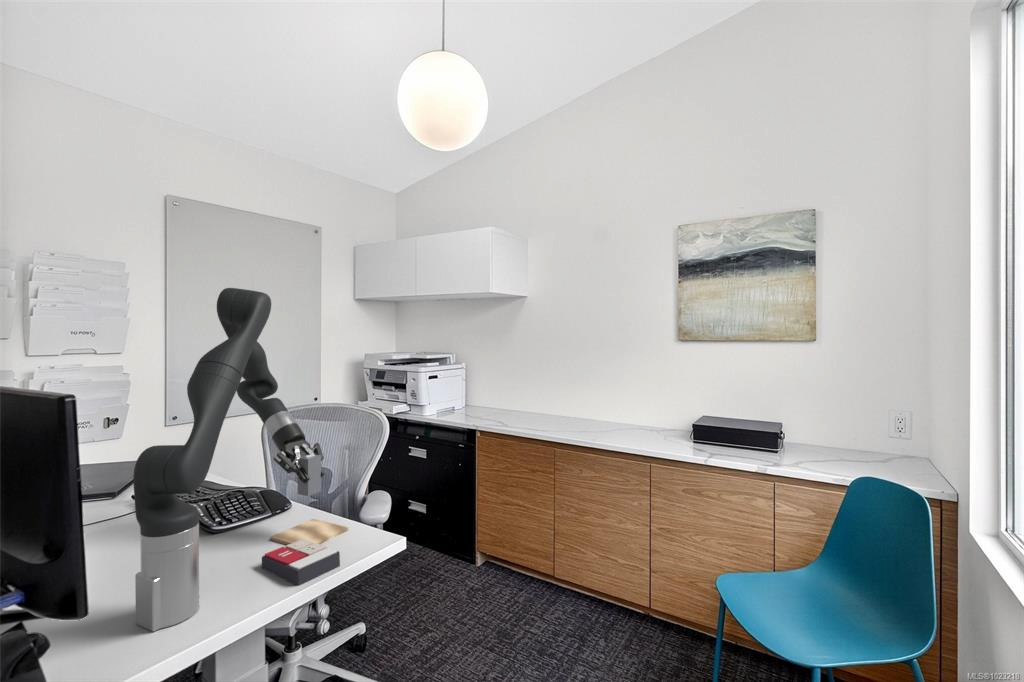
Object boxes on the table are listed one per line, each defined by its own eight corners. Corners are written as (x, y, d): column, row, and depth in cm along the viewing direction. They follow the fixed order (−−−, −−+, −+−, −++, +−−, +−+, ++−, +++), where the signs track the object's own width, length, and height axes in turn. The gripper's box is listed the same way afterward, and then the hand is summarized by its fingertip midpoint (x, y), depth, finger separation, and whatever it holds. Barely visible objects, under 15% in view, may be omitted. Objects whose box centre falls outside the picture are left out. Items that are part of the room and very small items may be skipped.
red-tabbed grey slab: (303, 536, 119) (340, 548, 110) (304, 553, 119) (340, 566, 110) (260, 553, 109) (297, 567, 101) (261, 571, 109) (297, 587, 101)
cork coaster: (306, 550, 118) (306, 547, 118) (270, 540, 124) (270, 537, 124) (348, 530, 131) (348, 527, 131) (313, 521, 137) (313, 518, 137)
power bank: (308, 496, 125) (308, 458, 124) (297, 494, 126) (297, 456, 126) (321, 491, 128) (321, 454, 128) (311, 489, 130) (311, 452, 130)
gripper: (267, 426, 124) (299, 477, 119) (311, 418, 137) (342, 464, 132) (255, 444, 126) (285, 495, 121) (299, 434, 139) (328, 480, 134)
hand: (314, 478), depth 126 cm, fingers closed on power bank, 4 cm apart
